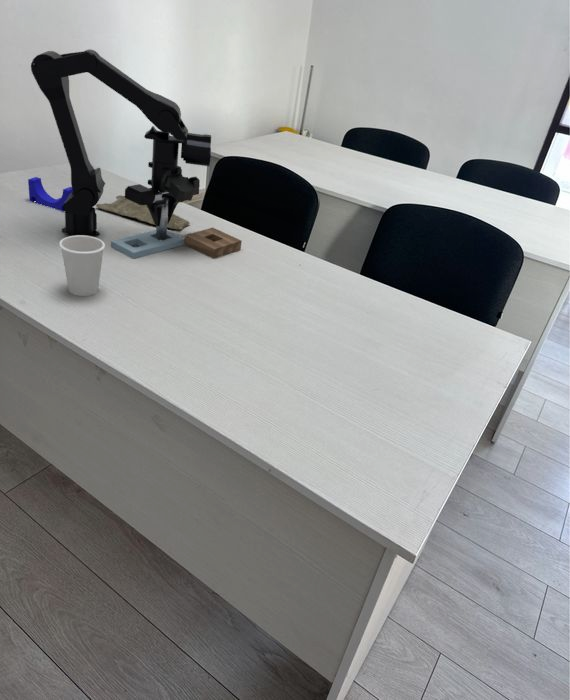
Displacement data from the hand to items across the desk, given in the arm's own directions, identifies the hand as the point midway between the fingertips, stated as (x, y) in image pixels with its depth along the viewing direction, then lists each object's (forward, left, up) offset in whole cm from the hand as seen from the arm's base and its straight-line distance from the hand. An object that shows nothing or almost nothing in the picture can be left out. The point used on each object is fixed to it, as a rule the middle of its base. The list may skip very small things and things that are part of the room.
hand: (161, 224), depth 141 cm
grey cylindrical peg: (0, 0, -4) cm, 4 cm away
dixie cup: (-30, -10, -5) cm, 32 cm away
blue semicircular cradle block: (-7, +33, -5) cm, 34 cm away
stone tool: (+9, +15, -5) cm, 18 cm away
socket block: (+9, -9, -4) cm, 14 cm away
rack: (-4, 0, -4) cm, 6 cm away
